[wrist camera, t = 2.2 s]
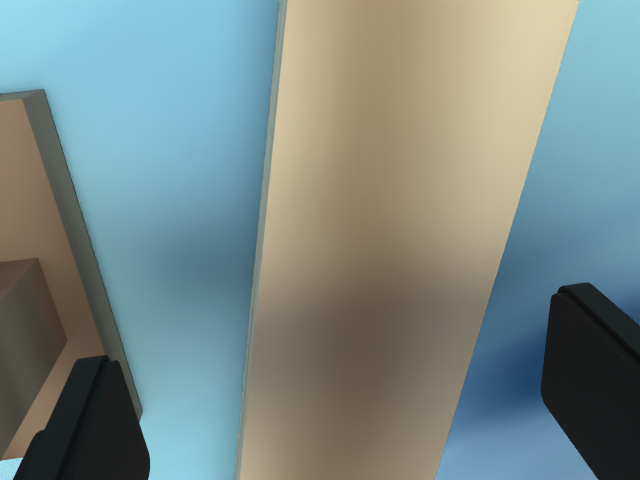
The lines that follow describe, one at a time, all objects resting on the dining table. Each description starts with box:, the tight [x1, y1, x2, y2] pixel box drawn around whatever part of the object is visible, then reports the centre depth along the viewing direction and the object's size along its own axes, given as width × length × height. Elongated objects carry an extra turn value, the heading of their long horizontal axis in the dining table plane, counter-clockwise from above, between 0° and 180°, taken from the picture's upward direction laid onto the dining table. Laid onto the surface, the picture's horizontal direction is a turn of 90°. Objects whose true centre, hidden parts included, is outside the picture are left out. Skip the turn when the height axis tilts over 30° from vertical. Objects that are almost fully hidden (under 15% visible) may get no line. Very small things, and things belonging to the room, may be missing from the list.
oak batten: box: [234, 0, 580, 480], centre depth 16 cm, size 6×24×6 cm, turn 172°
